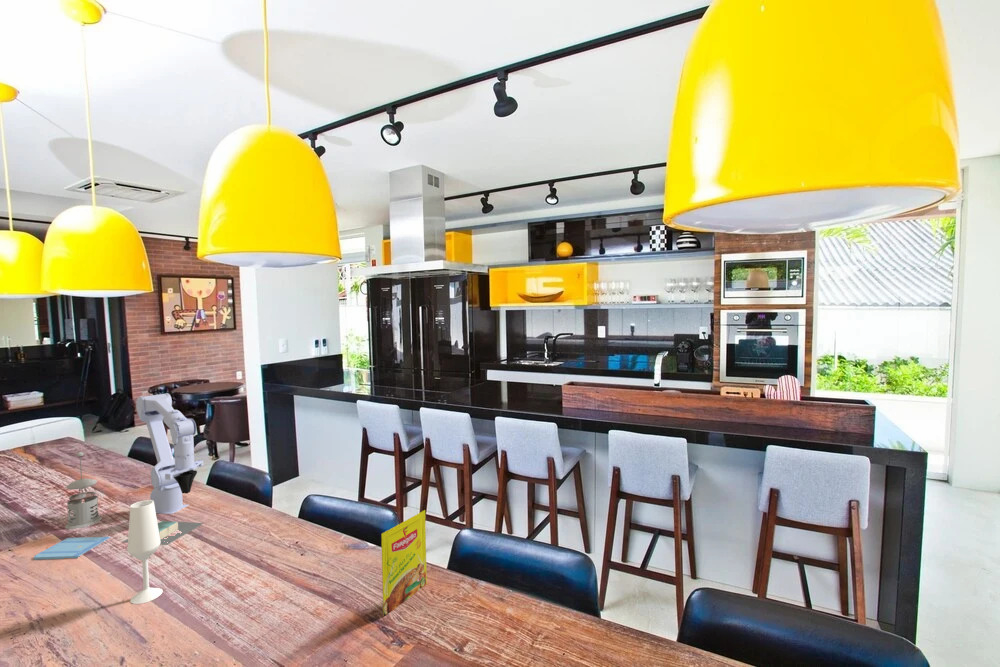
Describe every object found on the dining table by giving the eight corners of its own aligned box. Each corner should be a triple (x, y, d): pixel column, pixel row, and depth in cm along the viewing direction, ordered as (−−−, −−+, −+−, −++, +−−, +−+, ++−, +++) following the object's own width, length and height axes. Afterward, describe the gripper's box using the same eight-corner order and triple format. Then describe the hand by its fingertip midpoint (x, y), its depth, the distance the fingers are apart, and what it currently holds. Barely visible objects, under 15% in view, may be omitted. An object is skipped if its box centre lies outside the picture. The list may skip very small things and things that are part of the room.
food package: (385, 617, 109) (383, 534, 108) (381, 616, 109) (379, 533, 109) (428, 584, 122) (426, 510, 121) (425, 583, 122) (423, 509, 122)
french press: (64, 532, 155) (59, 458, 154) (65, 520, 164) (61, 450, 163) (102, 523, 162) (98, 452, 160) (102, 512, 170) (98, 445, 169)
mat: (121, 543, 146) (121, 542, 146) (162, 522, 161) (162, 520, 161) (166, 546, 144) (166, 544, 144) (203, 524, 159) (203, 523, 159)
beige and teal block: (162, 528, 155) (143, 538, 148) (161, 520, 155) (143, 530, 148) (178, 529, 155) (160, 539, 148) (177, 521, 154) (159, 531, 148)
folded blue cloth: (31, 561, 138) (31, 557, 137) (67, 541, 150) (67, 537, 149) (78, 559, 138) (78, 555, 138) (110, 540, 150) (110, 536, 150)
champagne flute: (123, 600, 117) (118, 507, 116) (151, 585, 123) (147, 497, 122) (141, 606, 114) (136, 510, 113) (169, 590, 121) (164, 500, 120)
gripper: (177, 461, 155) (179, 501, 156) (210, 448, 170) (211, 485, 170) (158, 460, 156) (160, 500, 157) (192, 448, 170) (194, 484, 171)
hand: (186, 492), depth 163 cm, fingers closed
